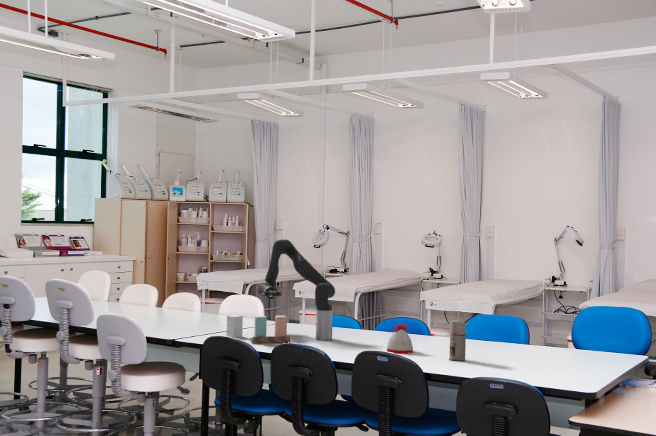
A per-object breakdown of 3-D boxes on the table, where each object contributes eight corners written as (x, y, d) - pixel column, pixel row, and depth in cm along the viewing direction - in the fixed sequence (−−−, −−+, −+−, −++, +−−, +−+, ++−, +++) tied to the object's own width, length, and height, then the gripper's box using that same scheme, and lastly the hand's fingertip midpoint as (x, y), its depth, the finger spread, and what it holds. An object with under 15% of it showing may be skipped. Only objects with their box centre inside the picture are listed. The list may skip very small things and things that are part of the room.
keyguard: (285, 340, 380) (285, 332, 380) (290, 344, 366) (290, 336, 366) (249, 341, 375) (249, 333, 375) (252, 345, 361) (252, 336, 361)
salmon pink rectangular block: (284, 341, 372) (285, 315, 373) (286, 342, 368) (287, 316, 368) (274, 341, 371) (275, 315, 372) (275, 342, 366) (276, 316, 367)
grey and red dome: (418, 352, 350) (418, 324, 351) (397, 354, 344) (397, 325, 344) (402, 348, 362) (403, 321, 363) (382, 350, 356) (382, 322, 356)
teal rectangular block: (264, 341, 370) (265, 315, 370) (266, 342, 365) (266, 316, 365) (254, 341, 368) (254, 315, 369) (255, 342, 364) (256, 316, 364)
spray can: (447, 358, 336) (447, 319, 336) (462, 358, 336) (463, 319, 337) (451, 361, 327) (452, 321, 328) (467, 361, 328) (468, 321, 328)
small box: (242, 338, 385) (243, 316, 386) (233, 339, 381) (233, 316, 382) (235, 336, 391) (235, 314, 392) (226, 337, 387) (226, 315, 388)
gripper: (259, 286, 402) (263, 288, 385) (280, 286, 405) (285, 288, 388) (259, 298, 401) (263, 301, 384) (280, 298, 404) (285, 300, 387)
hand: (274, 294), depth 386 cm, fingers closed
